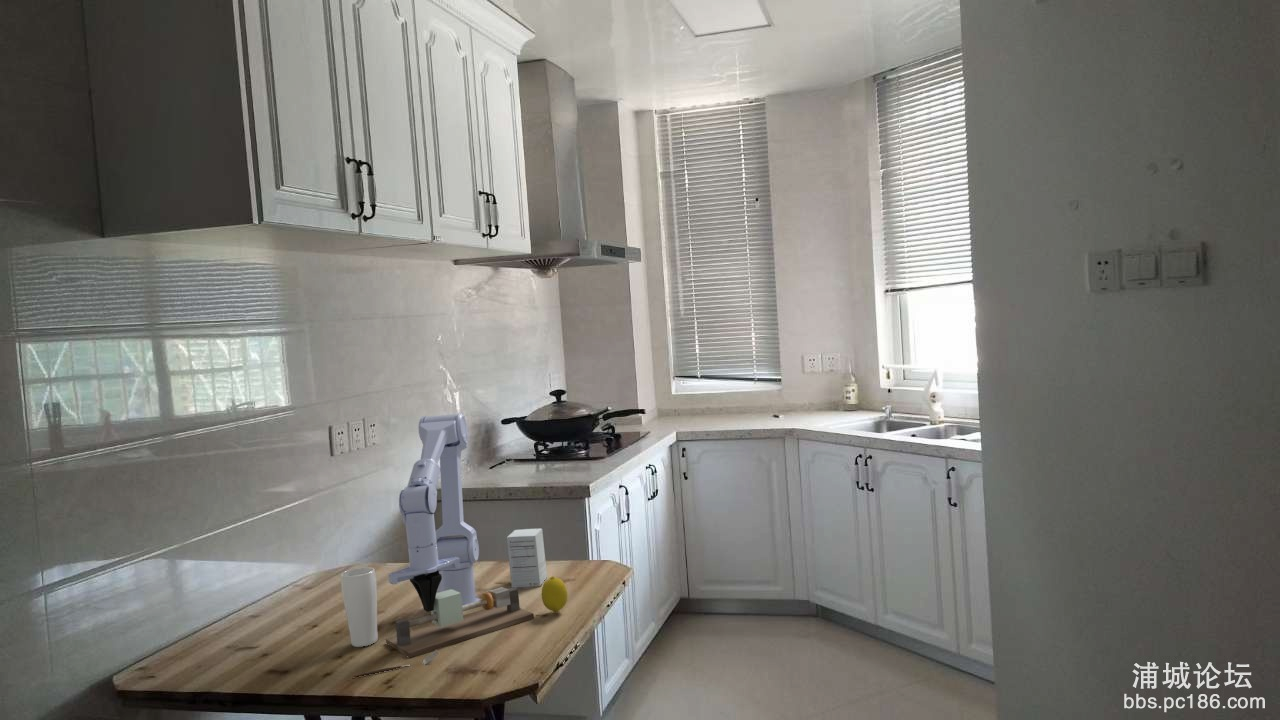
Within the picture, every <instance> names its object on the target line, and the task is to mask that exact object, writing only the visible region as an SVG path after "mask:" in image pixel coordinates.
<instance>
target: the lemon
mask: <svg viewBox="0 0 1280 720" xmlns="http://www.w3.org/2000/svg"><path fill="white" fill-rule="evenodd" d="M541 600H542V603H543V605H544V606H545V608H546V609H548V610H550V611H551V612H553V613H554V612H555V613H554V614H557V613H556V612H558V613H559V611H560V610H561V609H564V607H565V606H566V604H567V602H568V601H567V600H568V590H567V587H566V584H565V582H564V581H563V580H562V579H560V578H559V577H555V576H554V575H553V576H551V577H550V578H548V579H547V580H546V581H544V582H543V584H542V589H541Z"/></svg>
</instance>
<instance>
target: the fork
mask: <svg viewBox="0 0 1280 720" xmlns="http://www.w3.org/2000/svg"><path fill="white" fill-rule="evenodd" d="M438 655H439V651H438V649H436V650H433V652H431V653H430V654H429V655H428V656H427V657H426V658H424V659H423V663H424V665H423V666H426V665H427V664H429V663H431V661H432V660H434V659H435V658H437V656H438ZM423 663H422V664H423ZM425 664H426V665H425ZM404 666H410V664H405V665H399V666H391V667H386V668H381V669H377V670H373V671H370V672H369V671H368V672H366V673H365V672H364V673H361V674H357V675H354V676H353V677H359V676H364V675H369V674H375V673H379V672H384V671H389V670H392V671H394V670H393V669H396V668H400V667H404ZM410 667H411V666H410ZM404 668H405V667H404ZM400 669H401V668H400ZM396 670H397V669H396ZM389 672H390V671H389ZM375 675H376V674H375ZM369 676H370V675H369ZM364 677H365V676H364ZM359 678H360V677H359Z"/></svg>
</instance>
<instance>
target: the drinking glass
mask: <svg viewBox="0 0 1280 720" xmlns="http://www.w3.org/2000/svg"><path fill="white" fill-rule="evenodd" d="M340 584H341V592H342V601H343V605H344V610H345V616H346V620H347V625H348V631H349V636H350V644H351V645H352V646H353V647H355V648H364V647H363V646H365V647H368V645H369V646H371V644H372V645H374V644H375V643H376V642H377V641H378V639H379V633H378V595H377V594H378V593H377V592H378V591H377V590H378V587H377V577H376V571H375V568H374V567H370V566H369V567H368V566H363V567H355V568H351V569H348V570H346V571H344V572H342V573H341V574H340ZM373 643H374V644H373Z"/></svg>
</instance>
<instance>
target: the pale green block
mask: <svg viewBox="0 0 1280 720" xmlns="http://www.w3.org/2000/svg"><path fill="white" fill-rule="evenodd" d="M463 612H464V611H463V610H462V600H461V593H460V592H457V591H455V590H452V589H450V590H447V591H443V592H439V593H438V592H437V593H436V597H435V602H434V610H433V611H430V615H432V614H435V613H437V615H438V619H436V620H433V621H431V623H432V625H433V624H435V625H437V626H439V627H444V626H448V625H451V624H454V623H457V622H461V621H463V615H464V613H463Z"/></svg>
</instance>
